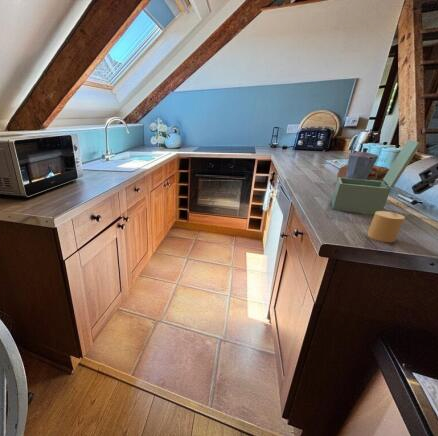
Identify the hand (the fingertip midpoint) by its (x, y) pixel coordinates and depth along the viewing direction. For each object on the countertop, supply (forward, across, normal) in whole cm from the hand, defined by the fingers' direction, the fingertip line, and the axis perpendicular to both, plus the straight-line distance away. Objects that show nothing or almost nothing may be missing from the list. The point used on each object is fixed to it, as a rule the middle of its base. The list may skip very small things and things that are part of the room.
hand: (434, 191), depth 57 cm
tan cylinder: (+17, +1, +5) cm, 17 cm away
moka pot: (+45, -17, -28) cm, 56 cm away
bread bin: (+33, -8, -14) cm, 37 cm away
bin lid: (+18, -14, -23) cm, 33 cm away
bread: (+55, -33, -40) cm, 76 cm away
